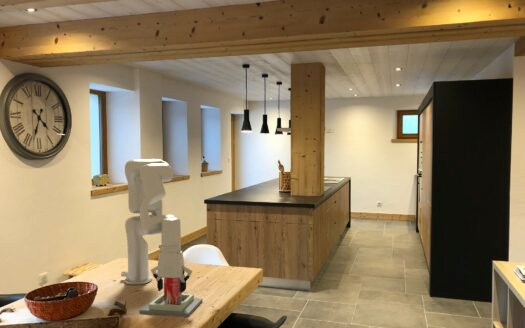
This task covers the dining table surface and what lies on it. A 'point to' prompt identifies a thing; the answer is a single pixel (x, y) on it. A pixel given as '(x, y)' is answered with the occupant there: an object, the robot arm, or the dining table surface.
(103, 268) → the dining table surface
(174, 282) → the soda can
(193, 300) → the holder board
